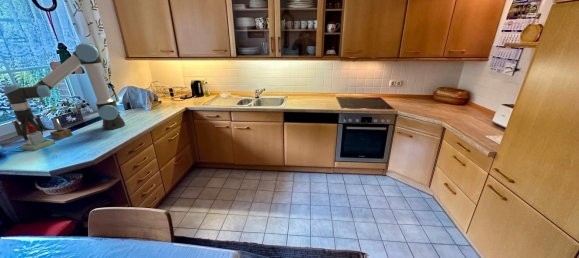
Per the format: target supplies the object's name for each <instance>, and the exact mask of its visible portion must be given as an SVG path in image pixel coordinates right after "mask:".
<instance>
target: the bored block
mask: <svg viewBox="0 0 579 258" xmlns="http://www.w3.org/2000/svg"><path fill="white" fill-rule="evenodd" d="M62 130H63V131H61V132H57V129H56V130H54V131H50V132H49V134H50V136H51V139H54V140H64V139H67V138H70V137H72V136H73V132H72V130H71V129H70V128H62Z"/></svg>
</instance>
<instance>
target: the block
mask: <svg viewBox="0 0 579 258" xmlns="http://www.w3.org/2000/svg"><path fill="white" fill-rule="evenodd" d="M28 135H29V137H30V139H31V141H32V145H36V144H38V143H41V142H44V141H45V140H44V139H45V138H44V134H43V135H42V133H36V132H35V133H32V134H28ZM25 142H26V143H28V142H27V140H25Z"/></svg>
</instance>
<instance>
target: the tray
mask: <svg viewBox="0 0 579 258" xmlns="http://www.w3.org/2000/svg"><path fill="white" fill-rule="evenodd" d="M44 140H45V141H44V142H41V143H38V144H36V145H32V144H28V143H27V142H26V143H22V144H21V145H19V148H20V150H22V151H29V150H30V151H32V152H36V151H40V150H42V149H45V148H47V147H49V146H51V145H55V144H56V142H55V139H52V138H44Z"/></svg>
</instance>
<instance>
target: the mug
mask: <svg viewBox="0 0 579 258" xmlns="http://www.w3.org/2000/svg"><path fill="white" fill-rule="evenodd" d="M33 120H34V119H33ZM34 121H35V122H36V120H34ZM19 125H20V128H21V122H19ZM26 126H27V135H28V134H32V133H35V132H36V131H38V130H37V129H36V128H35V127H34V126H33V125H32V124H31V123H27V125H26ZM36 133H37V132H36Z"/></svg>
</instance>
